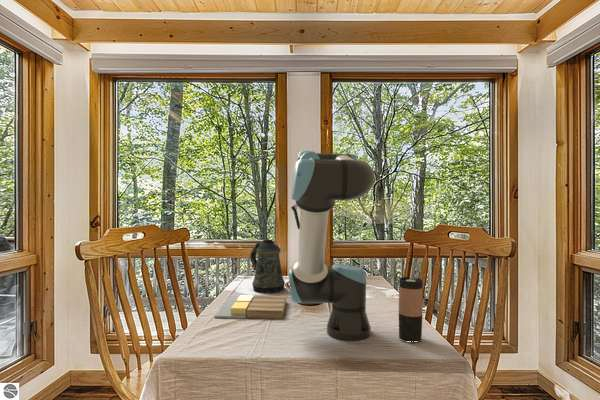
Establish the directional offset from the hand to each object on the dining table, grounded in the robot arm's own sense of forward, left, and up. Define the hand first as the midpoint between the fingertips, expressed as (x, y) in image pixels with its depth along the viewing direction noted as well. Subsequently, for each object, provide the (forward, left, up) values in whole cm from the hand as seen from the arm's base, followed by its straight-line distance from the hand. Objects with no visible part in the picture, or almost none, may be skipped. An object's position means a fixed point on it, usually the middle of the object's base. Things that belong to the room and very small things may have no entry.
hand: (306, 246), depth 155 cm
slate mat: (+2, +29, -27) cm, 40 cm away
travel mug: (-28, -35, -27) cm, 52 cm away
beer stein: (+37, +21, -27) cm, 50 cm away
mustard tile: (-3, +26, -26) cm, 37 cm away
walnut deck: (+2, +16, -27) cm, 31 cm away
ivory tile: (+8, +26, -26) cm, 38 cm away
